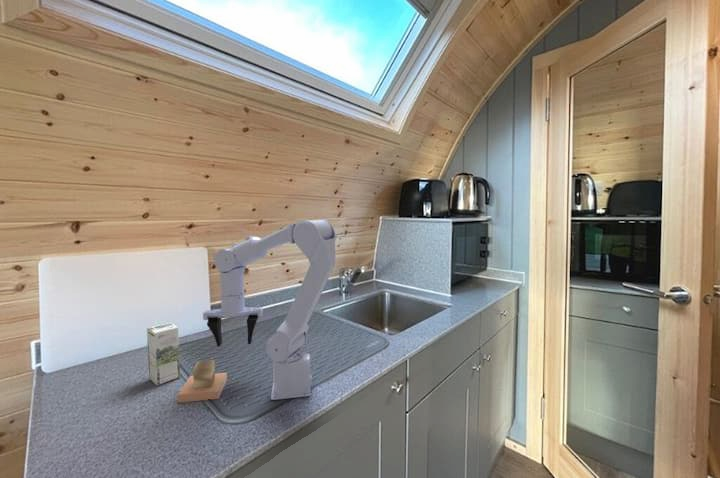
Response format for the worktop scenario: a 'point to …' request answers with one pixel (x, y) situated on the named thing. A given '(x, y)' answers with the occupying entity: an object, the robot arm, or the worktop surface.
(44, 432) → the worktop surface
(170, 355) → the syrup box
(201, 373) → the beech block
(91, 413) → the worktop surface
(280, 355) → the robot arm
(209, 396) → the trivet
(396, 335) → the worktop surface
